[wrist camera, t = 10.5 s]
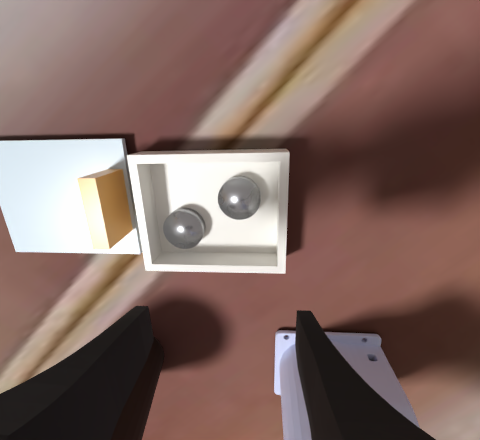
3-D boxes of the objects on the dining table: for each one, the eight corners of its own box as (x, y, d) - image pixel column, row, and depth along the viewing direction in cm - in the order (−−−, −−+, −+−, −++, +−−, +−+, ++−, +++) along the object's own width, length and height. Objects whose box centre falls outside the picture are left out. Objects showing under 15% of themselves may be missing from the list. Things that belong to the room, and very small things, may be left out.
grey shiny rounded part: (176, 200, 21) (172, 204, 21) (212, 219, 22) (209, 224, 21) (161, 231, 23) (156, 236, 22) (195, 249, 23) (192, 255, 22)
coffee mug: (160, 312, 26) (102, 419, 17) (184, 378, 29) (146, 502, 19) (55, 326, 28) (-52, 430, 18) (87, 387, 31) (9, 504, 21)
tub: (286, 148, 20) (289, 152, 18) (282, 257, 23) (285, 273, 21) (142, 151, 21) (126, 155, 18) (157, 255, 24) (145, 270, 21)
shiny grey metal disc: (265, 181, 21) (265, 184, 20) (254, 219, 22) (254, 224, 21) (224, 171, 20) (222, 173, 20) (215, 209, 22) (213, 213, 21)
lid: (129, 137, 21) (92, 142, 16) (146, 247, 24) (119, 276, 20) (-6, 140, 22) (-77, 145, 17) (27, 245, 25) (-25, 273, 21)
